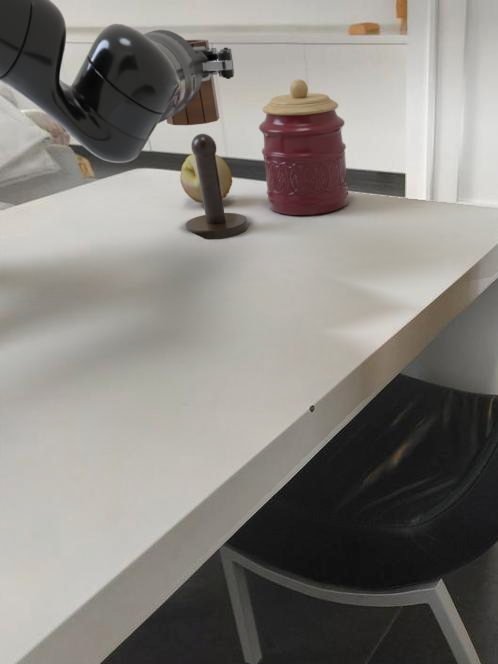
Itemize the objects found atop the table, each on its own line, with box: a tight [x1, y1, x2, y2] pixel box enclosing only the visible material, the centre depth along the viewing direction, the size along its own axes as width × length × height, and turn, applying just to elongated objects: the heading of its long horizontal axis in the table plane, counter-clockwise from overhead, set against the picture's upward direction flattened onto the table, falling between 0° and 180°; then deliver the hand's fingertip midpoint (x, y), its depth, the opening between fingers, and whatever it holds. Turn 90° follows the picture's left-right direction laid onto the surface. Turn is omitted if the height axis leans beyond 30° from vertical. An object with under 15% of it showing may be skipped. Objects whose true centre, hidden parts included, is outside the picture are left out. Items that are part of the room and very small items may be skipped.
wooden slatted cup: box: [165, 39, 220, 126], centre depth 85 cm, size 6×7×8 cm
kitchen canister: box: [258, 78, 349, 216], centre depth 105 cm, size 13×13×18 cm
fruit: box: [179, 153, 233, 205], centre depth 111 cm, size 8×8×8 cm
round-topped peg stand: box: [185, 133, 249, 240], centre depth 98 cm, size 9×9×13 cm
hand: (186, 59), depth 85 cm, fingers closed on wooden slatted cup, 6 cm apart
